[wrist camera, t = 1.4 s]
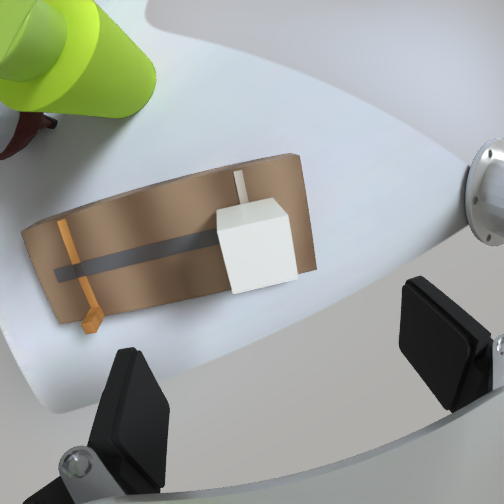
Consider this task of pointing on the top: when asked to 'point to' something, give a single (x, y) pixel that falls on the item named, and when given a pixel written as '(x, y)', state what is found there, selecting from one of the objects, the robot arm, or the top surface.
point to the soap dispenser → (70, 60)
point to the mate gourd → (20, 129)
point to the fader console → (158, 240)
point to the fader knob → (256, 245)
